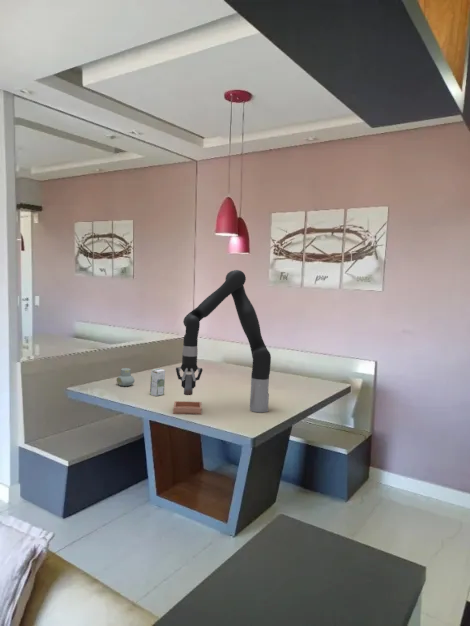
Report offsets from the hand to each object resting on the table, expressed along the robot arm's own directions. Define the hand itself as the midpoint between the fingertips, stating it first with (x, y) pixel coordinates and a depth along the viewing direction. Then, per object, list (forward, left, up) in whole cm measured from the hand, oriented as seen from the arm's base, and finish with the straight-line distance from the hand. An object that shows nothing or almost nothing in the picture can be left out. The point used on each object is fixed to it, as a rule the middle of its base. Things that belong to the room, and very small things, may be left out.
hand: (188, 387), depth 236 cm
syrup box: (+18, -30, -12) cm, 37 cm away
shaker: (0, 0, -3) cm, 3 cm away
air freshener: (+39, -50, -12) cm, 64 cm away
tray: (0, -1, -12) cm, 12 cm away
